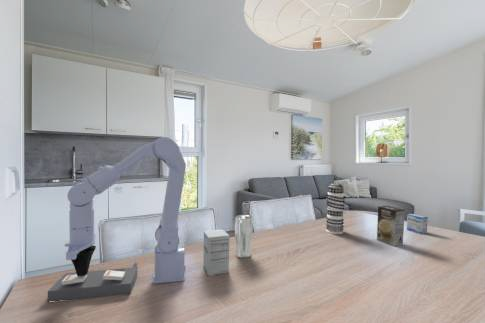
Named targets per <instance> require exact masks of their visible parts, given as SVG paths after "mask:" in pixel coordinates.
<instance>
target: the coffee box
mask: <svg viewBox="0 0 485 323" xmlns="http://www.w3.org/2000/svg"><path fill="white" fill-rule="evenodd" d="M377 208H378V209H377V227H376V230H377V231H376V240H377V241H379V242H382V243H385V244H386V245H390V246H393V247H397V246H403V245H404V234H405V232H404V228H405V213H406V212H405V211H406V210H405V209H402V208H398V207H394V206H390V205H382V206H377Z"/></svg>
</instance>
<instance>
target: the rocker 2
mask: <svg viewBox="0 0 485 323" xmlns="http://www.w3.org/2000/svg"><path fill="white" fill-rule="evenodd" d="M106 270H107V271H106V272H105V274H104V275H103V279H108V280H122V279H123V277H124V275H125V272H124V271H111V270H109V269H106Z"/></svg>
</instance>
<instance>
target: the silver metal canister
mask: <svg viewBox="0 0 485 323" xmlns="http://www.w3.org/2000/svg"><path fill="white" fill-rule="evenodd" d="M234 218H235V219H234V236H235V237H234V238H235V243H236V247H235V249H236V250H235V256H236V257H237V258H240V259H247V258H249V257H251V255H252V252H251V241H252V236H253V216H251V215H249V214H248V215H247V214H239V215H235V217H234Z"/></svg>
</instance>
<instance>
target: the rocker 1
mask: <svg viewBox="0 0 485 323" xmlns="http://www.w3.org/2000/svg"><path fill="white" fill-rule="evenodd" d="M86 277H87V274H86V275H85V276H77V274H75V275H68V276H66V277H65V278H64V279H63V280H62V285H66V284H72V283H79V282H83V281H84V280H85V278H86Z"/></svg>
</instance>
